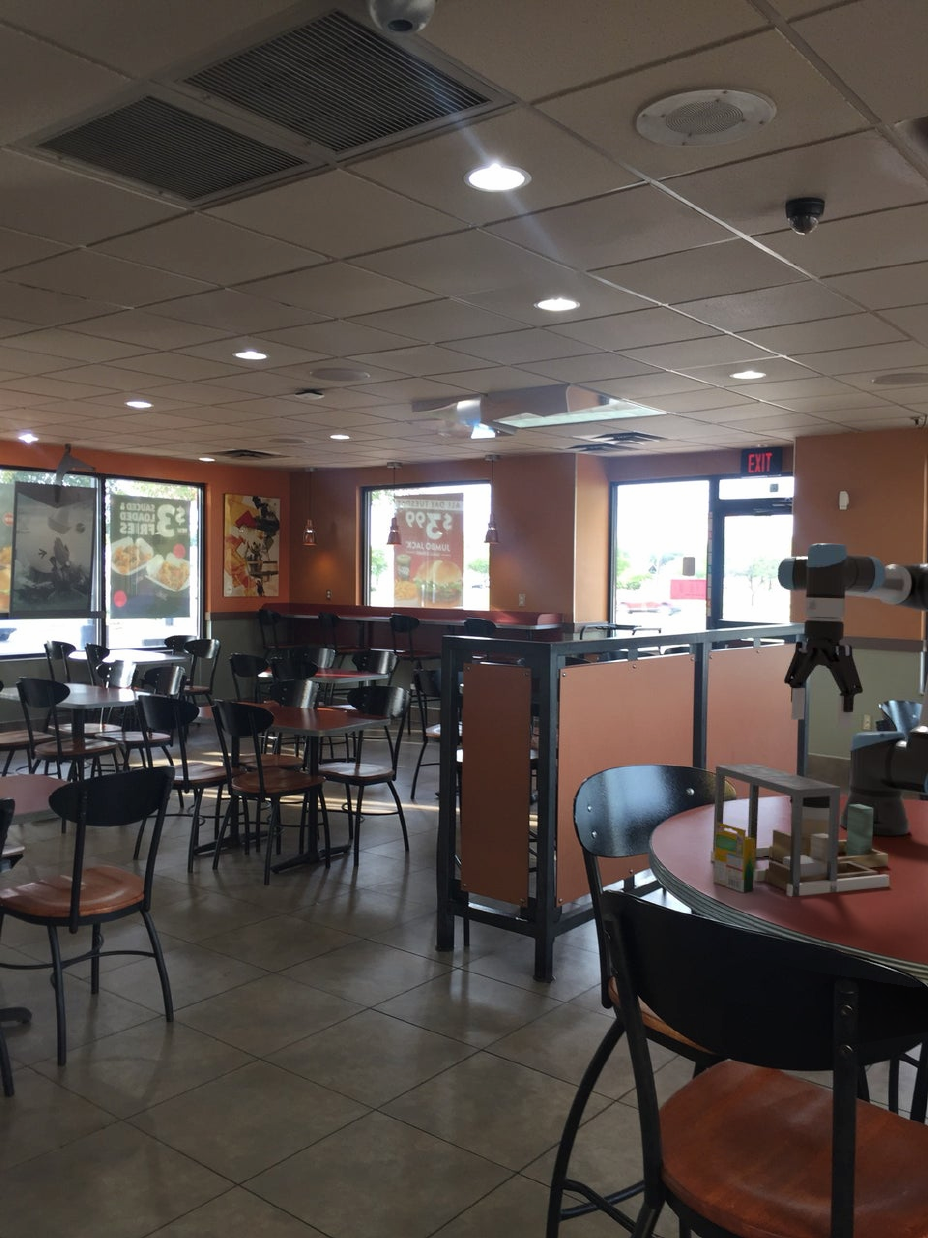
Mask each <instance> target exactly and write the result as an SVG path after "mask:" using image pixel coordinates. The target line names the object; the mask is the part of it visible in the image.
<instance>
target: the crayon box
mask: <svg viewBox="0 0 928 1238" xmlns="http://www.w3.org/2000/svg"><path fill="white" fill-rule="evenodd" d="M725 829H728V830H725ZM729 829H731V830H732V831H733V832H732V831H729ZM746 831H747V830H746V829H742V828H739V827H735V826H733V825H732V826H731V825H730V824H729V825H728V824H725V823H723V824H722V823H718V822H716V840H715V862H714V865H713V866H714V867H713V883H714V884H717V885H721V886H723V887H727V888H729V889H732V890H735V891H738V892H740V893H743V894H744V893H748V892H752V891H754V881H755V880H754V870H755V859H756V858H755V839H754V838H750V837H748V835H746ZM735 832H736V833H735Z"/></svg>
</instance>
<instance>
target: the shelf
mask: <svg viewBox="0 0 928 1238" xmlns="http://www.w3.org/2000/svg"><path fill="white" fill-rule="evenodd" d="M726 777H728V778H729V779H730V778H731V779H734V780H737V781H740V782H743V783H746V784H749V799H748V800H749V801H748V821H747V822H748V825H747V826H748V827H747V837H750V838H754V839H755V849H756V847H758V846H757V843H758V819H759V818H758V816H759V794H760V793H759V792H760V791H759V790H760V788H763V789H766V790H770V791H773V792H776V793H779V794H783V795H785V796H788V797H790V796H791V797H793V801H792V826H791V825H790V834H791V852H790V877H789V884H791V885H796V886H793V888H794V887H795V888H794V889H793V895H792V896H791V897H799V895H797V893H798V894H799V891H798V890H799V887H800V886H798V885H800V862H801V837H802V811H803V798H805V797H821V796H830V807H829V832H828V857H827V881H830V882H831V883H832V884H833V883H834V882H835V881H837V864H838V857H839V853H838V840H840V839H839V837H840V835H839V832H840V816H841V814H840V813H841V809H840V808H841V789H842V788H841V786H837V785H834V784H830V783H826V782H823V781H820V780H815V779H811V778H809V777H805V776H802V775H799V774H794V773H790V772H787V771H783V770H780V769H777V768H773V767H770V766H765V765H761V764H759V763H750V764H749V763H747V764H745V763H744V764H724V765H723V764H722V765H716V766H715V783H714V784H715V787H714V788H715V789H714V790H715V791H714V811H713V813H714V814H713V815H714V817H713V836H712V837H713V839H712V840H713V841H712V842H713V843H712V846H713V847H712V851H715V840H716V822H718V823H722V824H724V814H725V813H724V809H725V808H724V807H725V805H724V804H725V786H726V785H725V783H726V780H725V779H726ZM755 855H756V853H755ZM832 884H831V885H832ZM834 884H835V883H834ZM797 886H798V887H797ZM831 888H832V889H833V886H831V887H830V889H831ZM834 888H837V886H836V887H835V886H834ZM795 889H796V890H795ZM832 889H831V890H830V892H829V893H836V892H835V891H836V889H833V890H832ZM834 890H835V891H834ZM832 891H833V892H832ZM794 895H795V896H794Z"/></svg>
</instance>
